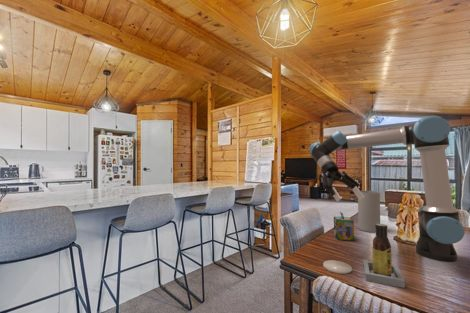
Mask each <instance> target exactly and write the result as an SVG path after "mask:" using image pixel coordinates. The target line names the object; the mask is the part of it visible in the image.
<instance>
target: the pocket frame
mask: <svg viewBox="0 0 470 313" xmlns="http://www.w3.org/2000/svg"><path fill="white" fill-rule="evenodd" d="M362 261H363V272H364V278H365V281H367V282H372V283H373V282H374V283H379V284H383V285H388V286H393V287H398V288H403V289H405V288H406V287H405V286H406V285H405V283H406V282H405V278H404V276H403V274H402V273H401V270H400V268H399V267H398V265H394V264H392V274H393V275H394V276H392V275H391V276H385V275H380V274H374V273H373V272H371V271H370V270H373V261H369V260H364V259H363V260H362Z"/></svg>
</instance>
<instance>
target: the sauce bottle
mask: <svg viewBox="0 0 470 313" xmlns="http://www.w3.org/2000/svg"><path fill="white" fill-rule="evenodd" d="M375 228H376V232H375V236H374V238H373V239H372V262H373V269H372V270H373V272H372V273H374V274H380V275H385V276H391V277H392V274H393V273H392V265H393V262H392V261H393V260H392V245H391V242H390V241H389V237H388V225H387V224H383V223H380V224H375Z"/></svg>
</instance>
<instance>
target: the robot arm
mask: <svg viewBox="0 0 470 313" xmlns="http://www.w3.org/2000/svg"><path fill="white" fill-rule="evenodd" d="M450 132H451V126H450V123H449V122H448V120H446V118H443V116H439V115H427V116H424V117H421V118H420V119H418V120H417V121H415V123H413V124H408V125H403V126H401V128H396V129H387V130H380V131H374V132H365V133H360V134H351V135H344V133H342V132H341V130H337V131H335V132H333V133H332V134H331V135H330V136H329V137H327V138H326V139H325V140H324V141H322V142H321V143H320V142H318V141H316V142H313V143H312V144H310V146H309V148H308V151H309V152H310V153H309V154H310V155H311V157H312V158H313V160H314V161H315V162H316V164H317V165H318V167H319V169H320V170H321V174H320V176H321V180H322V181H321V182H322V188H323V190H326V192H329V193H330V195H331V196H332V197H333V198H334V200H335V202H337V203H339V202H340V201H341V200H342V197H341V196H340V194H339V193H338V191H337V189H336V187H334V186H333V184H334V182H340V183H343V184H344V185H346V186H347V187H349V188H351V189H352V192H353V193H354V195H355V196H356V197H357V200H358V199H359V200H360V201H361V200H362V199H363V198H364V196H363V194H362V193H361V191H362V190H360V188H359V186H360V183H358V182H357V181H356V180H354V178H352V177H351V176H350V175H348V174H347V172H345V171H342V172H340V171H339V166H338V165H337V164H336V162H334V161H335V160H333V158H332V157H331V154H333V152H335V151H343V150H351V149H358V148H359V149H361V148H370V147H380V146H388V145H397V144H398V145H399V144H403V145H404V146H405V145H406V146H407V145H408V146H409V145H414V149H415V151H418V153H419V157H420V164H421V166H420V167H421V173H422V174H421V175H422V180H423V181H422V182H423V188H424V196H425V204H426V205H421V206H420V207H419V210H418V214H419V215H418V217H419V222H418V223H419V237H418V239H417V242H416V244H415V248H414V249H415V252H416V253H417V254H418V255H419V256H422V257H425V258H428V259H431V260H435V261H440V262H441V261H442V262H455V261H458V253H457V251H456V250H457V249H455V245H454V244H456V243H459V242H461V241H462V240H463V239H464V236H465V228H464V226H463V224H462V223H461V220H460V215H459V213H460V212H459V209H457V208H456V207H454V205H453V204H454V203H453V198H452V197H453V196H452V191H451V183H450V176H449V168H448V162H447V161H448V160H447V154H446V150H447V148H449V146H450V139H449V134H450Z"/></svg>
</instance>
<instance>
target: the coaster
mask: <svg viewBox="0 0 470 313" xmlns="http://www.w3.org/2000/svg"><path fill="white" fill-rule="evenodd" d="M322 265H323V268H324V269H325V270H326V271H328V272H331V273H334V274H338V275H347V274H351V273H352V272H353V267H352V266H351V265H350V264H348V263H346V262H344V261H341V260H335V259H331V260H329V259H328V260H325V261H324V262H323V263H322Z"/></svg>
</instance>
